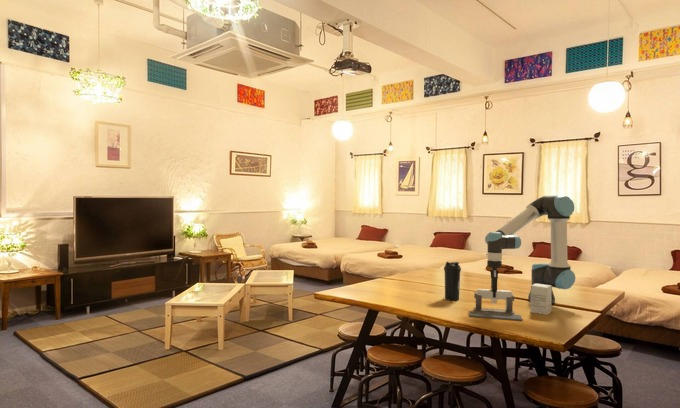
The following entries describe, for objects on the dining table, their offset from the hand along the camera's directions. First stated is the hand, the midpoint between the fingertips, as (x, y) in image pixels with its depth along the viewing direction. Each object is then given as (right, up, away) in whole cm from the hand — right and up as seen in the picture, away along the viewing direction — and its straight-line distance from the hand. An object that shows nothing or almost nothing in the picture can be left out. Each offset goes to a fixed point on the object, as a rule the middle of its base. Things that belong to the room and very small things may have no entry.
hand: (493, 302), depth 244 cm
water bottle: (-16, -5, +28) cm, 33 cm away
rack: (0, -5, 0) cm, 5 cm away
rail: (0, +2, 0) cm, 2 cm away
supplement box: (+26, -6, -1) cm, 26 cm away
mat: (-3, -5, -12) cm, 13 cm away
